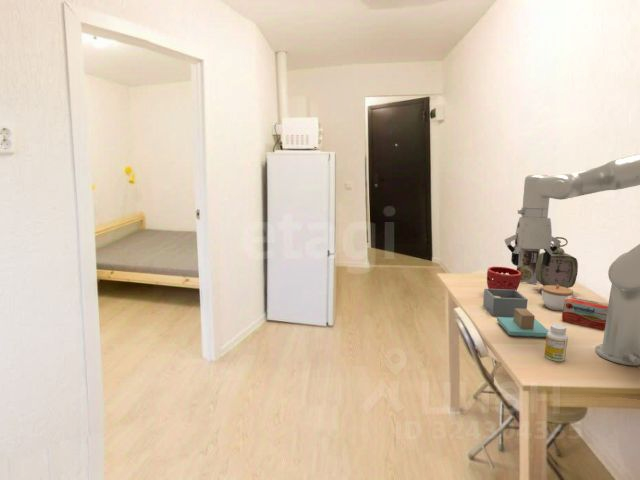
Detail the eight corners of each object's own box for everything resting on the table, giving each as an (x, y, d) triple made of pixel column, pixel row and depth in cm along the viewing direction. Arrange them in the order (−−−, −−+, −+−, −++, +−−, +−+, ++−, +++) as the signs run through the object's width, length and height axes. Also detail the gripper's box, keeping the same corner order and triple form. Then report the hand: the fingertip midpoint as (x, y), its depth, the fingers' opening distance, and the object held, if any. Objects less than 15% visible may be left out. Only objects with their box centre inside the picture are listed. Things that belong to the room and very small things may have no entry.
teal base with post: (550, 340, 138) (553, 320, 136) (509, 338, 139) (511, 318, 137) (534, 325, 150) (536, 306, 149) (496, 323, 151) (498, 304, 150)
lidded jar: (575, 313, 162) (578, 289, 160) (544, 311, 164) (547, 287, 162) (564, 304, 172) (567, 282, 171) (536, 302, 174) (539, 280, 173)
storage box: (525, 317, 157) (527, 299, 155) (492, 316, 158) (493, 298, 157) (514, 306, 168) (515, 289, 167) (483, 305, 170) (484, 288, 168)
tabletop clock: (538, 294, 185) (544, 238, 180) (531, 288, 194) (537, 234, 189) (574, 296, 182) (581, 239, 178) (566, 290, 191) (573, 235, 186)
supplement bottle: (551, 352, 128) (555, 321, 127) (569, 359, 124) (573, 327, 122) (540, 355, 126) (543, 324, 124) (557, 363, 121) (561, 331, 119)
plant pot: (486, 300, 176) (488, 272, 174) (484, 291, 188) (486, 265, 186) (520, 303, 172) (523, 275, 170) (516, 294, 185) (519, 267, 182)
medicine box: (613, 326, 150) (617, 304, 149) (611, 332, 144) (614, 310, 143) (565, 315, 160) (568, 295, 158) (560, 321, 154) (563, 300, 152)
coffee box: (537, 281, 205) (540, 248, 202) (535, 284, 200) (539, 251, 197) (516, 278, 210) (520, 246, 207) (514, 281, 205) (518, 248, 202)
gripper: (511, 214, 134) (506, 267, 137) (568, 215, 133) (562, 268, 136) (503, 211, 142) (499, 262, 145) (557, 212, 140) (552, 263, 143)
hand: (530, 265), depth 140 cm, fingers open, 9 cm apart
